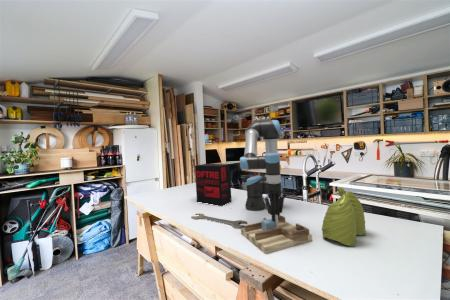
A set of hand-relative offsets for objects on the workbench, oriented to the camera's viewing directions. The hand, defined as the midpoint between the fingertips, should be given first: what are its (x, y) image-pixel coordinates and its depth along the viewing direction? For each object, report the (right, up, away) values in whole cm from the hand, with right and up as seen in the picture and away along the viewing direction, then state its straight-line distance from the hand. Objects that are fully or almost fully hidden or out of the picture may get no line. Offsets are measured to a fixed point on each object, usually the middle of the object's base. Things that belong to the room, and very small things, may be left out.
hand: (275, 226), depth 114 cm
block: (-4, -2, 0) cm, 5 cm away
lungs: (+33, -3, -5) cm, 34 cm away
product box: (-36, -4, +70) cm, 79 cm away
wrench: (-32, -6, +26) cm, 41 cm away
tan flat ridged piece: (-1, -5, -2) cm, 5 cm away
